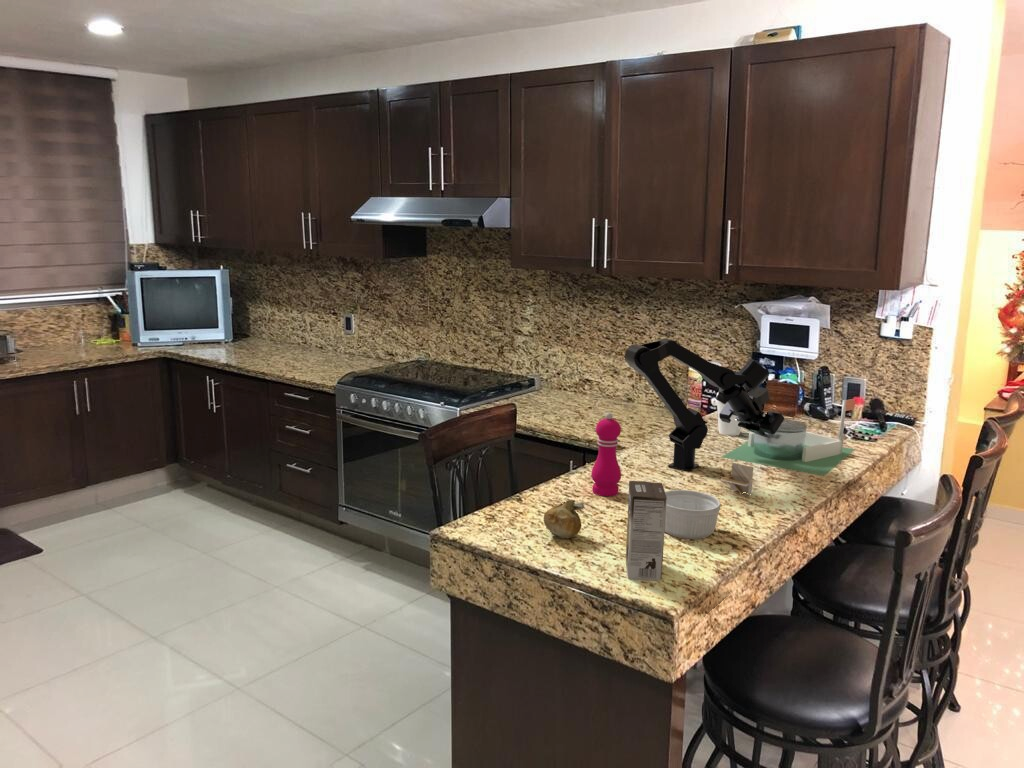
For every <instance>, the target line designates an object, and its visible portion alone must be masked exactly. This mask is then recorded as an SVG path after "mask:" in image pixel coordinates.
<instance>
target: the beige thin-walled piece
mask: <svg viewBox="0 0 1024 768" xmlns="http://www.w3.org/2000/svg"><path fill="white" fill-rule="evenodd" d="M855 404H856V398H850V399H842V406H841V415H840V423H839V424H840V425H839V434H838V438H835V437H830V436H826V435H822V434H818V433H814V432H811V431H810V432H809V431H806V437H805V445H807V446H809V447H804V448H803V455H802V462H808V461H812V460H817V459H821V458H826V457H830V456H834V455H839V454H842V447H844V446H843V444H844V439H843V438H844V430H845V429H844V428H845V419H846V412H848V411H854V410H855ZM754 437H755V433H753V432H749V433H748V439H747V442H748V446H750V447H752V446H754Z"/></svg>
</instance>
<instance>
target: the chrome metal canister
mask: <svg viewBox="0 0 1024 768" xmlns="http://www.w3.org/2000/svg"><path fill="white" fill-rule="evenodd" d="M807 429H808V425H807V424H805V423H804V422H800V421H797V420H793V419H786V418H785V419H784V421H783V422H782V424H781V425H780V427H779V428H778V430H777V431H776V433H775V434H769V433H765V434H764V436H760V435H758V434H756V433H755V437H754V449H753V452H754V453H755V454H756V455H758V456H761V457H764V458H768V459H774V460H786V461H790V460H799V459H802V455H803V448H804V447H805V437H806V432H807Z"/></svg>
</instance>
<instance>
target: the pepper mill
mask: <svg viewBox="0 0 1024 768" xmlns="http://www.w3.org/2000/svg"><path fill="white" fill-rule="evenodd" d="M604 417H605V418H602V419H601V420H599V421H598V422H597V424H596V426H595V433H596V435H597V437H598V438H597V443H596V444H597V445H598V452H597V453H598V454H597V456H596V457H597V458H596V460H595V462H594V464H593V466H592V469H591V472H590V473H591V475H590V476H591V479H592V480H593V482H594V483H593V484H592V493H593V494H594V495H596V496H601V497H613V496H614V497H615V496H617V495H618V494H619V485H618V483H619V482H620V480H621V479H622V471H621V467H620V465H619V462H618V459H617V446H618V445H619V443H618V442H619V439H618V437H619V436H620V435H621V431H622V427H621V424H620V423H619V422H618V421H617V420H616V419H613V417H614V416H613V414H612V412H606V414H605V416H604Z"/></svg>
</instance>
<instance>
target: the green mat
mask: <svg viewBox="0 0 1024 768" xmlns="http://www.w3.org/2000/svg"><path fill="white" fill-rule="evenodd" d="M805 447H809V446H807V445H805ZM753 449H754V446H752V447H750V446H748V441H746V442H745V443H743V444H740V446H738V447H736V448H734V449H732V450H730V451H729V452H727V453H725V454H723V455H722V456H721V458H725V459H730V460H734V461H741V462H744V463H745V462H747V463H751V464H758V465H763V466H768V467H773V468H778V469H784V470H789V471H794V472H800V473H805V474H810V475H815V476H816V475H817V476H821V477H825V476H827V474H829V473H830V472H831V471H832V470H833V469H834V468H835V467H837V465H839V464H841V462H842V461H843V460H845V459H846V458H848V456H849V455H851V454H852V453H853V452H854V451H855V450H856V449H855V448H849V447H844V446H843V447H842V454H839V455H834V456H830V457H826V458H821V459H817V460H812V461H808V462H802V459H799V460H790V461H786V460H774V459H768V458H764V457H761V456H758V455H756V454H755V453H754V452H753Z"/></svg>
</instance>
